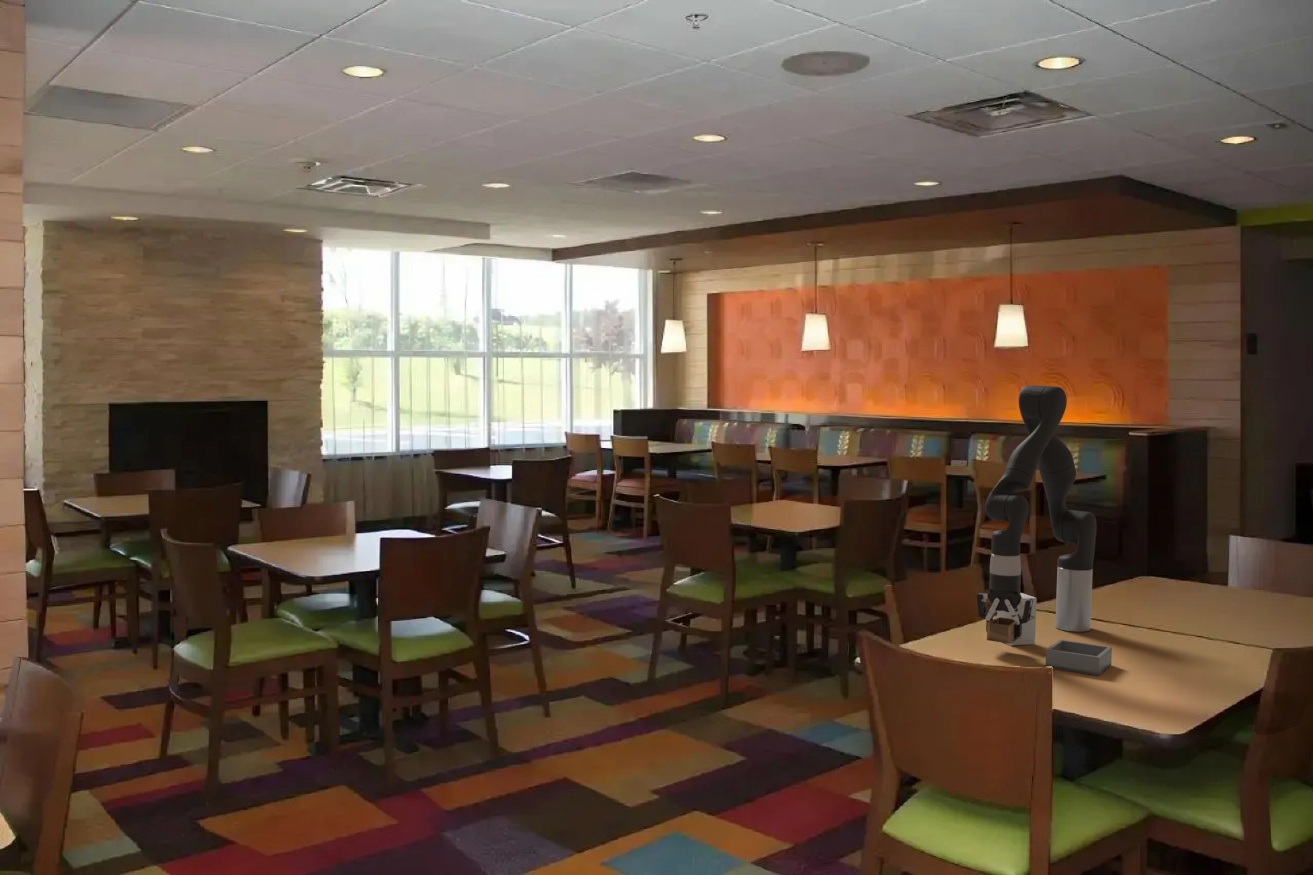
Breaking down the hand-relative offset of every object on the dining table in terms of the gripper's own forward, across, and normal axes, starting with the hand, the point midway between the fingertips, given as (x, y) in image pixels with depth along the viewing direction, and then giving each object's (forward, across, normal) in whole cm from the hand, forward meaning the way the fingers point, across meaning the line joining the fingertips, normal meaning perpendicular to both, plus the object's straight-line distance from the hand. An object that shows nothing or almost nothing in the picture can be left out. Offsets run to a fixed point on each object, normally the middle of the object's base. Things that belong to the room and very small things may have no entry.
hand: (1003, 636), depth 284 cm
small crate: (+1, 0, 0) cm, 1 cm away
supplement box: (+5, +1, -14) cm, 14 cm away
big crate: (+4, -19, +1) cm, 20 cm away
